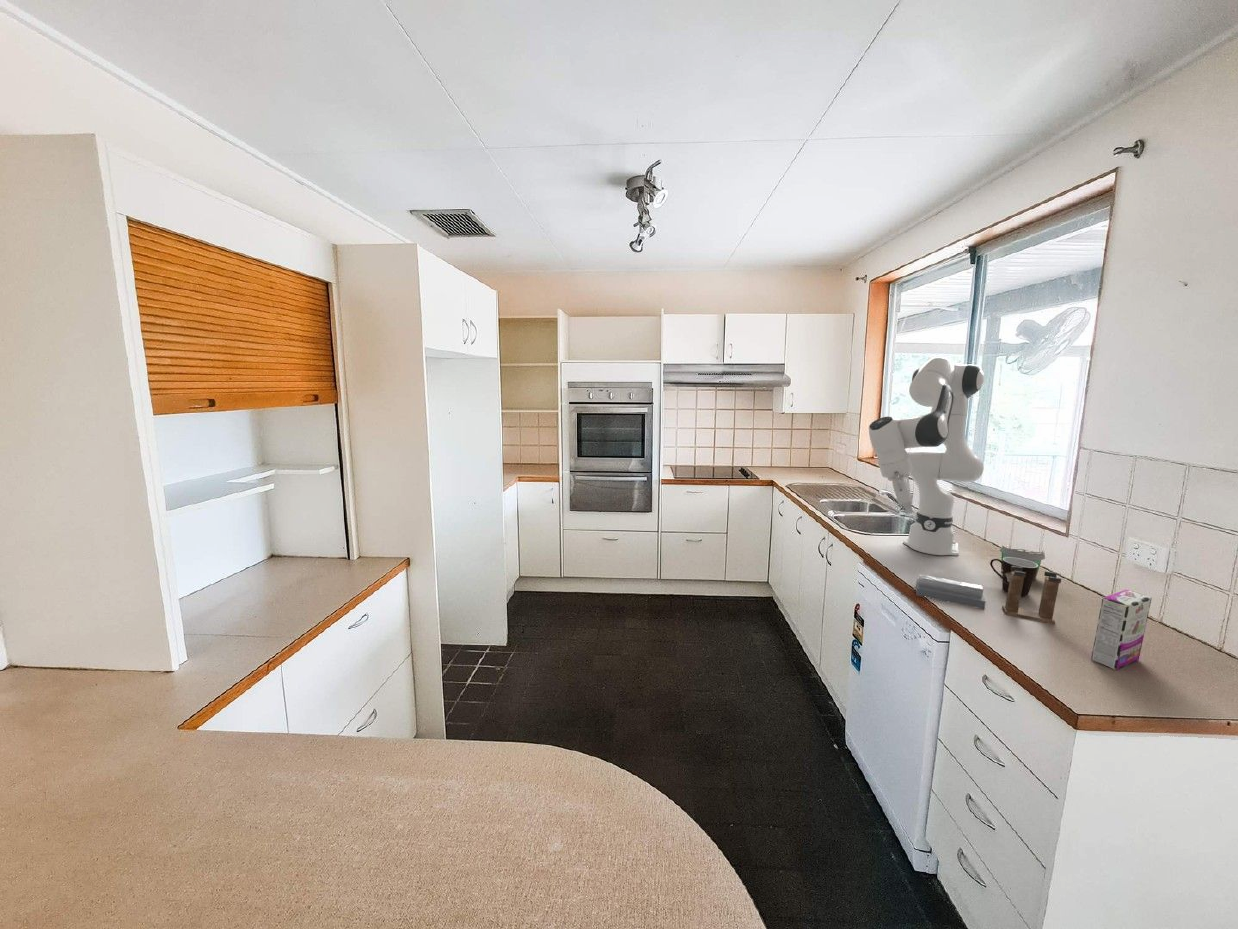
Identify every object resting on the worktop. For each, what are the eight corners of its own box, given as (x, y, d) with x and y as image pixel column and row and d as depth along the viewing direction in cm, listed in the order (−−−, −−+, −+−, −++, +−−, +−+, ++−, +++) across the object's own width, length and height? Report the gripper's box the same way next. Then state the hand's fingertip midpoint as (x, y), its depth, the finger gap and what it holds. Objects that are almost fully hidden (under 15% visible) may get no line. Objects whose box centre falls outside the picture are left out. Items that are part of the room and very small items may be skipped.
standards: (1004, 614, 139) (1012, 570, 136) (1001, 607, 143) (1009, 565, 140) (1055, 624, 133) (1063, 579, 131) (1050, 617, 138) (1058, 573, 135)
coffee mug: (1040, 598, 149) (1045, 568, 147) (1011, 598, 149) (1017, 567, 148) (1010, 582, 161) (1015, 554, 159) (984, 582, 161) (989, 553, 159)
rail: (918, 585, 152) (919, 577, 151) (918, 582, 154) (919, 574, 154) (981, 597, 144) (983, 589, 143) (980, 593, 146) (981, 585, 146)
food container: (1001, 579, 164) (1006, 550, 162) (995, 572, 169) (1000, 545, 167) (1047, 585, 159) (1052, 556, 157) (1039, 578, 165) (1044, 550, 163)
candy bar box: (1112, 650, 121) (1125, 588, 118) (1139, 660, 117) (1154, 597, 114) (1088, 659, 117) (1101, 596, 114) (1115, 671, 112) (1130, 605, 109)
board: (916, 595, 150) (917, 588, 150) (915, 586, 157) (916, 579, 156) (984, 609, 142) (985, 601, 141) (980, 598, 149) (981, 591, 148)
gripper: (908, 475, 144) (922, 517, 146) (905, 455, 161) (918, 493, 163) (885, 480, 147) (899, 521, 149) (884, 460, 164) (897, 497, 166)
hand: (909, 506), depth 156 cm, fingers open, 8 cm apart
